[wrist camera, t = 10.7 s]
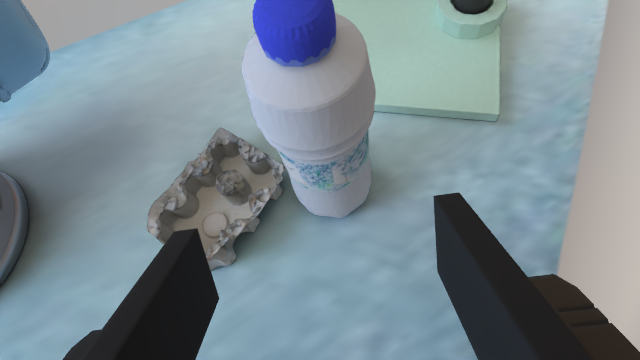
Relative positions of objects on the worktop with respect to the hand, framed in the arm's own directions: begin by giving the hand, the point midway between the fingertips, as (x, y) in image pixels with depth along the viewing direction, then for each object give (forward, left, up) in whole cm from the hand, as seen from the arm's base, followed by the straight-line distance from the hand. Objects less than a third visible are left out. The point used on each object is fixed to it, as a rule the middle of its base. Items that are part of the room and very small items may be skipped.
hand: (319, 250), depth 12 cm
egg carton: (-12, +6, -19) cm, 23 cm away
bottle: (-3, +9, -19) cm, 21 cm away
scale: (+1, +24, -19) cm, 31 cm away
